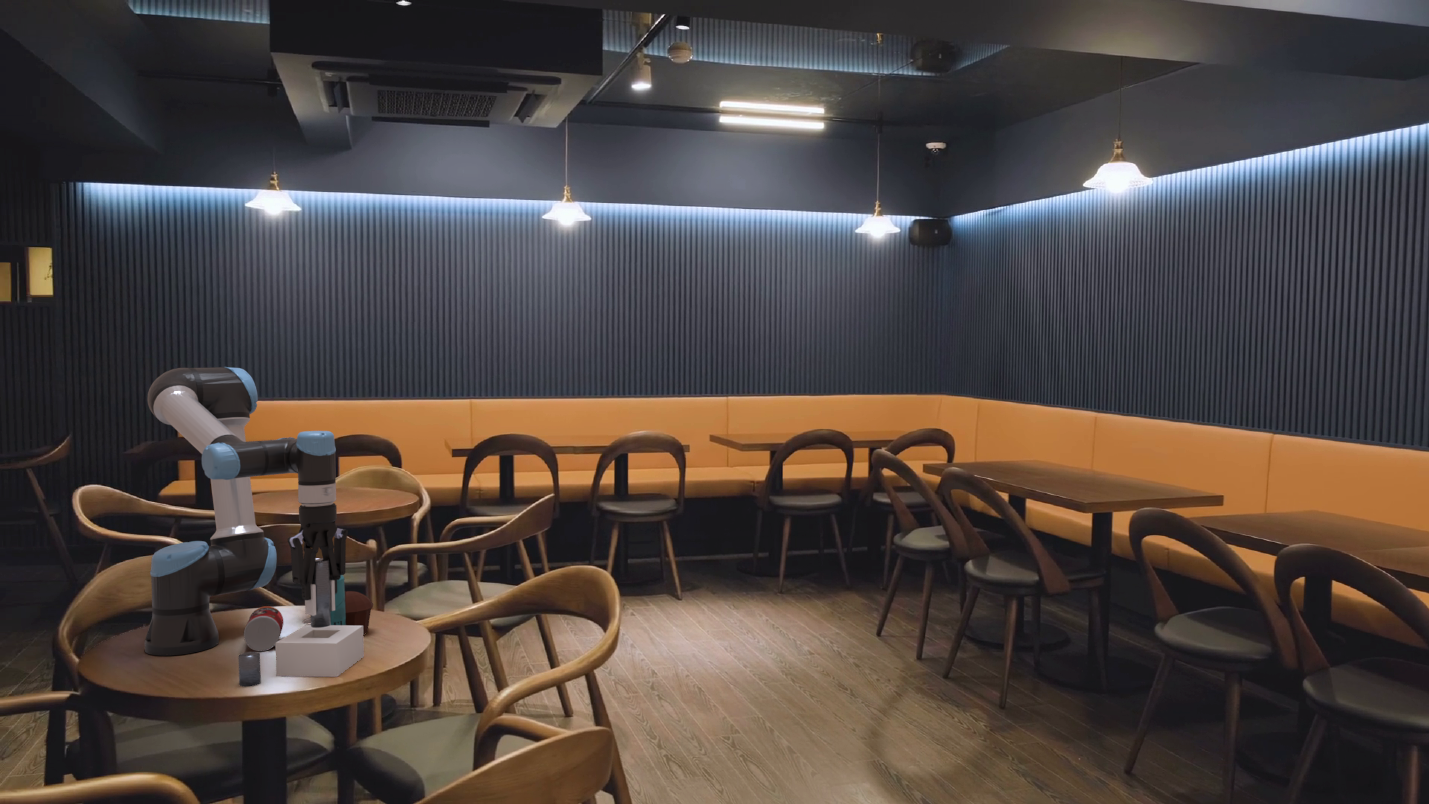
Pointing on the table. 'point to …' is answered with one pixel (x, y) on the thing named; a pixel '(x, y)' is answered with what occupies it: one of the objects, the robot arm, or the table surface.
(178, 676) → the table surface
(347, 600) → the muffin
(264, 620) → the canned food
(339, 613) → the beverage bottle
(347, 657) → the hole block
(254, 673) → the short peg
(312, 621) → the long peg
